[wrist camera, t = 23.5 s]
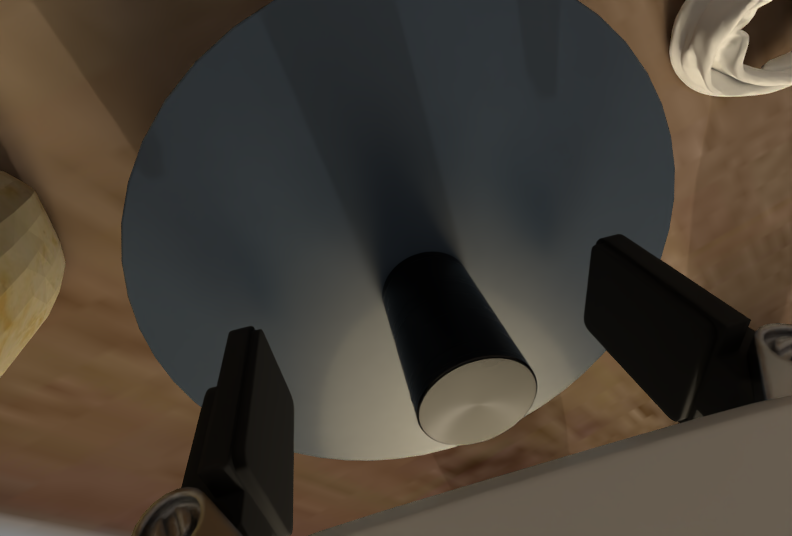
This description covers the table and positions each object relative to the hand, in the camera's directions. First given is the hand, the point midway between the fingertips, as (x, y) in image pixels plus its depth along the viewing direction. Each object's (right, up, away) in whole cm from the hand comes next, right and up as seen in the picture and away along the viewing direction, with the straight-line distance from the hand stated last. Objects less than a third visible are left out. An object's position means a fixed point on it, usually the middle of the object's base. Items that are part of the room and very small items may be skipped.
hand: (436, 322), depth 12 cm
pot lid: (0, +1, +2) cm, 2 cm away
